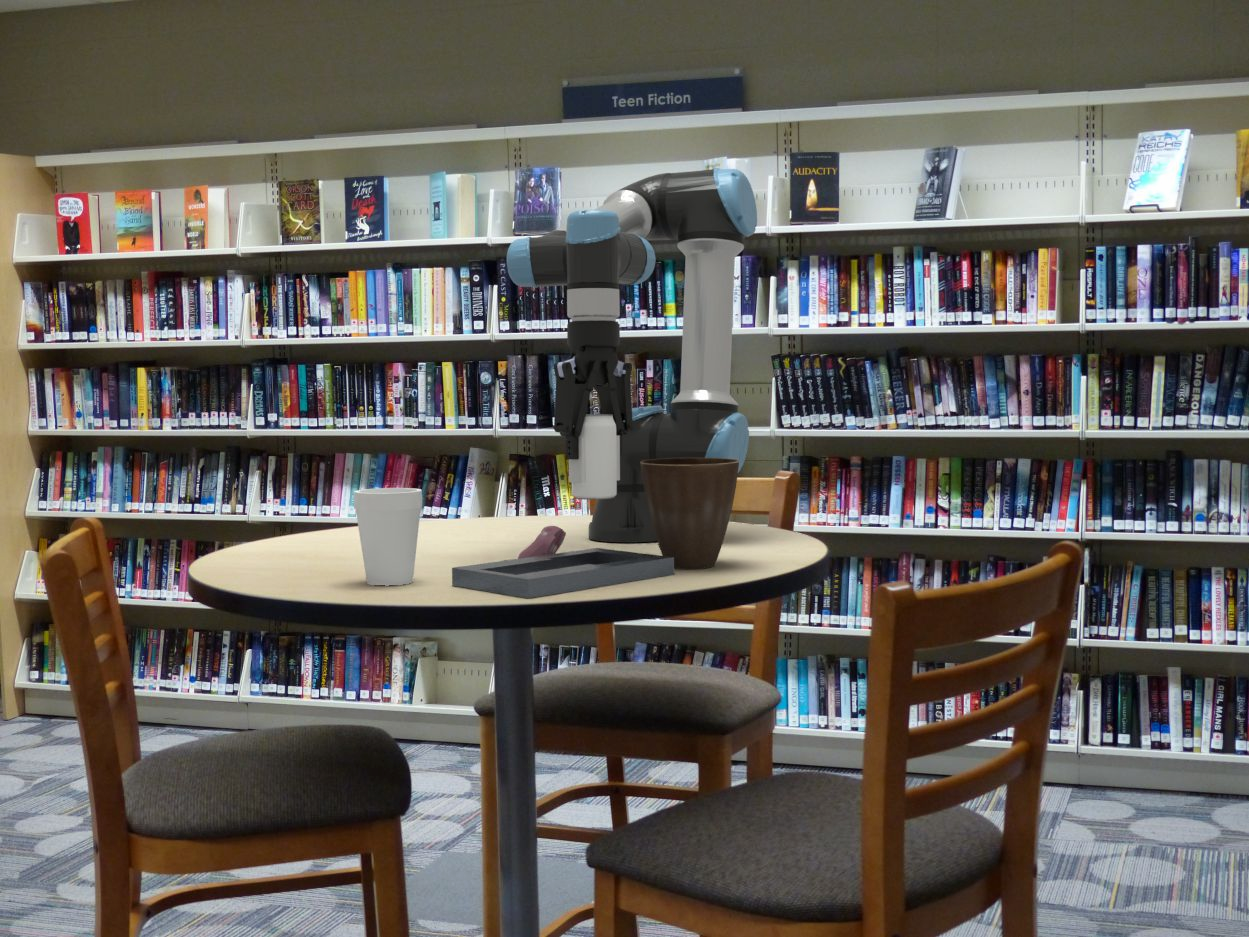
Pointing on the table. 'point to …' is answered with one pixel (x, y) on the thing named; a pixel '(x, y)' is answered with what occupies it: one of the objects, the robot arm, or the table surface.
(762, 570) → the table surface
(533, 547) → the video game controller
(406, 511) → the foam cup
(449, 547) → the table surface
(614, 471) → the can
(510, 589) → the keyhole plate
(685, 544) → the plant pot
